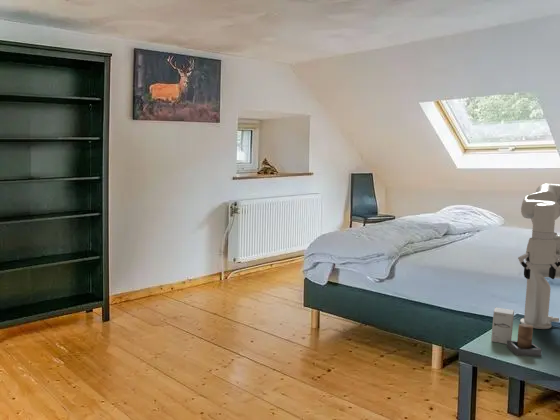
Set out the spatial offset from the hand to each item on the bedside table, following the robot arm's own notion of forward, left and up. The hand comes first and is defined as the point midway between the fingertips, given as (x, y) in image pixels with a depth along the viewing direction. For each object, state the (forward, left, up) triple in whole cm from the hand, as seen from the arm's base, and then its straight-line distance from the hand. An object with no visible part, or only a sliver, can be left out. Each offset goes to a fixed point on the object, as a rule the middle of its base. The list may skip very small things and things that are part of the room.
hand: (539, 278), depth 209 cm
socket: (+8, +7, -27) cm, 29 cm away
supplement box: (+11, -4, -27) cm, 30 cm away
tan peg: (+8, +7, -27) cm, 29 cm away
